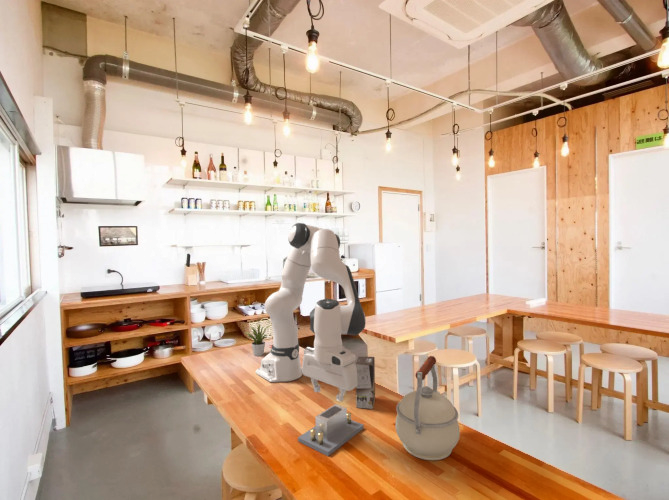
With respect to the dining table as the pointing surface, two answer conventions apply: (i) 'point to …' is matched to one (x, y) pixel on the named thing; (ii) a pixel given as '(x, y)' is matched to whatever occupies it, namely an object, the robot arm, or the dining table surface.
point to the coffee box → (365, 382)
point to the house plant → (258, 341)
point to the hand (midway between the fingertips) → (328, 395)
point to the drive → (331, 421)
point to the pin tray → (335, 441)
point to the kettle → (427, 419)
